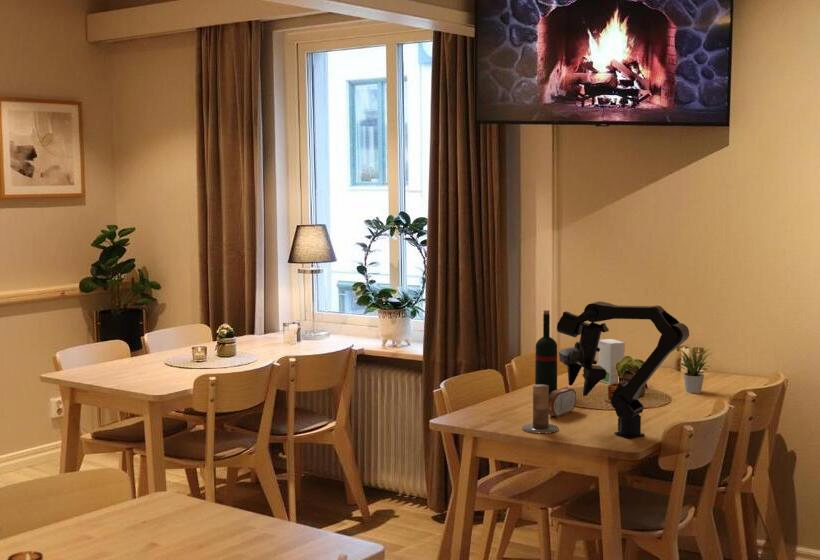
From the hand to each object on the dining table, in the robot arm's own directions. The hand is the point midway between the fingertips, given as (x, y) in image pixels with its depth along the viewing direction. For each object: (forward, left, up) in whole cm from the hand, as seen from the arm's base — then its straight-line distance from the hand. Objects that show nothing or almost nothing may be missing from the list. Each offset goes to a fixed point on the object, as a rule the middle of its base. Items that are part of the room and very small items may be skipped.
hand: (577, 390), depth 316 cm
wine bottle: (+44, -23, -12) cm, 51 cm away
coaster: (+5, +10, -12) cm, 16 cm away
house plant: (+18, -70, -12) cm, 73 cm away
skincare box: (+48, -56, -12) cm, 75 cm away
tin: (+17, -8, -12) cm, 23 cm away
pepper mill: (+5, +10, -11) cm, 16 cm away
